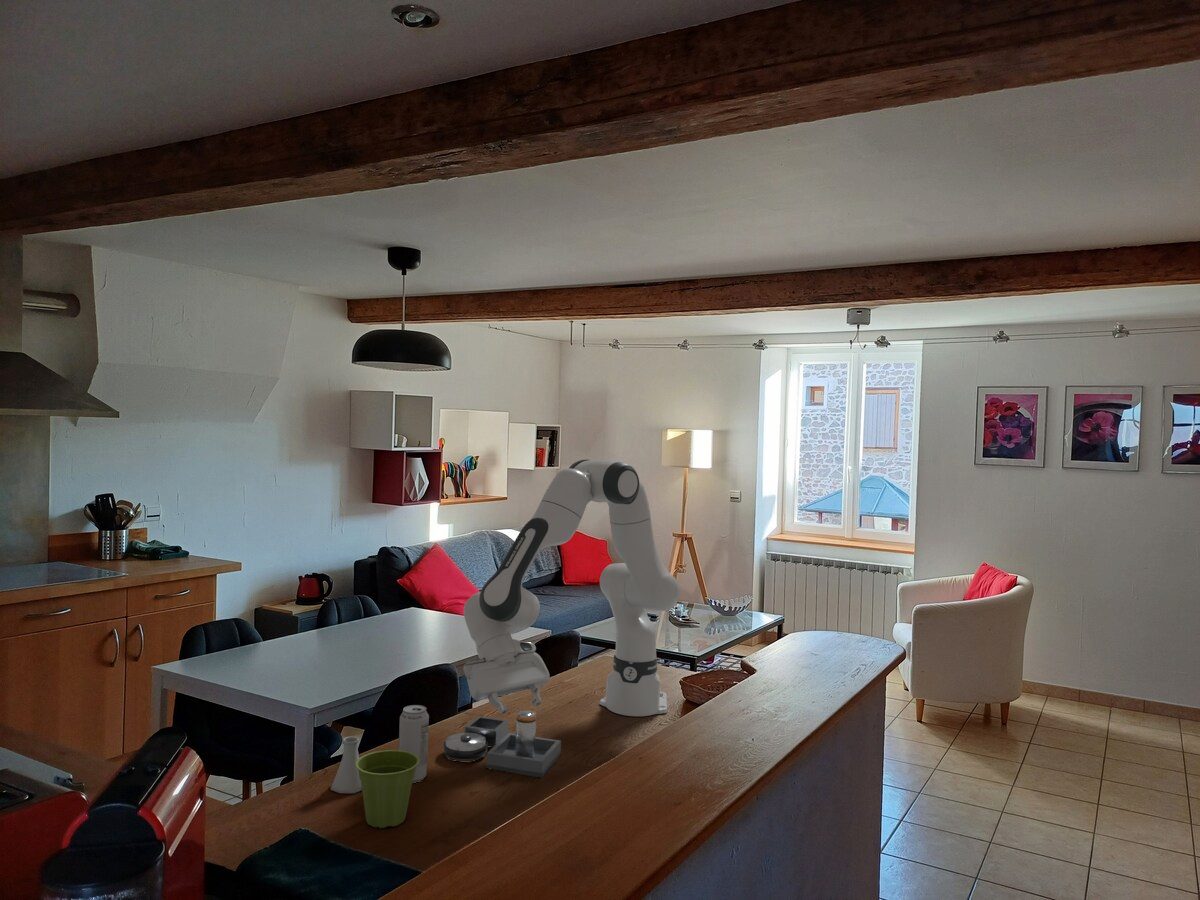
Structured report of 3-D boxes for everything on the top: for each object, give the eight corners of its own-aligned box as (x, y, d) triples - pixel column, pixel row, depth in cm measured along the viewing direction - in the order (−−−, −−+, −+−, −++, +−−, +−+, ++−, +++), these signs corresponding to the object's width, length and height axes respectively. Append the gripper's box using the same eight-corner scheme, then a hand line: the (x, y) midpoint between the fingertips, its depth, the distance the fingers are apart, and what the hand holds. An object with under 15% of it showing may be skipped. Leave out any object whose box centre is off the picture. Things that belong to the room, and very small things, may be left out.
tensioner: (470, 730, 204) (470, 714, 204) (508, 736, 201) (508, 719, 201) (435, 759, 185) (436, 741, 185) (476, 766, 183) (477, 747, 183)
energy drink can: (401, 772, 178) (404, 703, 178) (429, 773, 178) (432, 704, 177) (393, 784, 172) (396, 712, 172) (422, 785, 172) (425, 714, 171)
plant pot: (422, 806, 163) (424, 749, 162) (410, 836, 151) (413, 775, 150) (361, 804, 162) (364, 748, 162) (345, 834, 150) (347, 773, 150)
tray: (507, 747, 194) (508, 732, 194) (560, 755, 191) (561, 740, 191) (486, 768, 182) (486, 753, 182) (542, 777, 178) (542, 761, 178)
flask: (356, 797, 165) (358, 747, 165) (323, 792, 167) (325, 743, 167) (373, 782, 173) (375, 734, 172) (341, 777, 174) (343, 730, 174)
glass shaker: (518, 752, 189) (520, 709, 189) (537, 755, 188) (539, 711, 188) (511, 759, 185) (513, 715, 185) (530, 762, 184) (532, 718, 183)
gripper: (466, 655, 187) (488, 710, 180) (539, 642, 200) (562, 693, 193) (455, 669, 190) (476, 724, 183) (528, 656, 203) (550, 707, 196)
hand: (521, 708), depth 188 cm, fingers open, 8 cm apart
